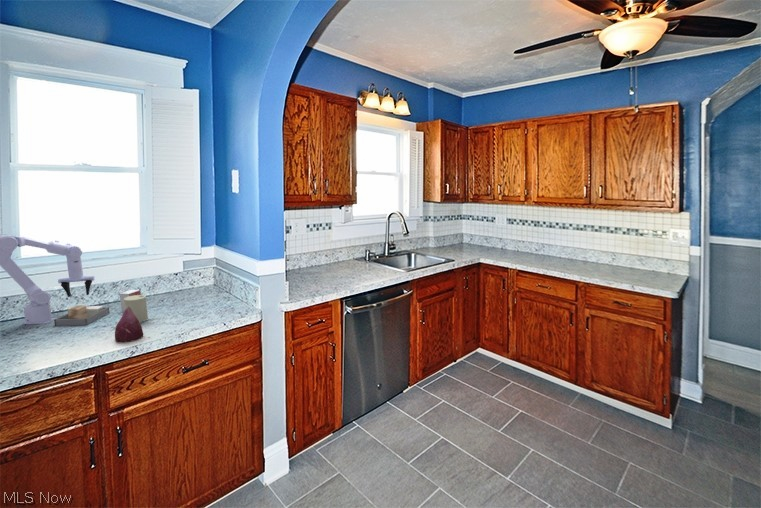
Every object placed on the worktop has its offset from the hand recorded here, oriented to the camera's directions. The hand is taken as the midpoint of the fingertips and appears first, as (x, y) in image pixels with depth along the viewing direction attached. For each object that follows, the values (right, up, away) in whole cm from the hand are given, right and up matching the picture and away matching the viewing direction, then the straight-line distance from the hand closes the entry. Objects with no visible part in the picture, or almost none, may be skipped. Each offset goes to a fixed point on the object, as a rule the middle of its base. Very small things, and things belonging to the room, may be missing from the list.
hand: (78, 295), depth 202 cm
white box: (+8, -10, -3) cm, 13 cm away
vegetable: (+45, -16, -30) cm, 56 cm away
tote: (+9, -11, -8) cm, 17 cm away
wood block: (+9, -11, -12) cm, 19 cm away
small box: (+24, -9, +6) cm, 26 cm away
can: (+35, -11, -8) cm, 38 cm away
